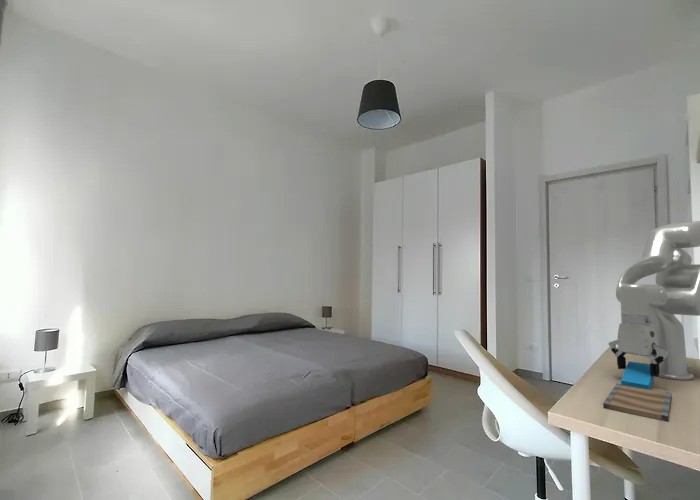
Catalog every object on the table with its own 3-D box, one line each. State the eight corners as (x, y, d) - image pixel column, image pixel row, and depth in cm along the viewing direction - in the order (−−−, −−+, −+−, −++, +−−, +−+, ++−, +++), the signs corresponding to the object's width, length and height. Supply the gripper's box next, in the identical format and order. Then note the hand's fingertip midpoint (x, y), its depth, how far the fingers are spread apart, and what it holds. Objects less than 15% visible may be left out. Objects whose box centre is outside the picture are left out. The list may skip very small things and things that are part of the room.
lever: (651, 406, 108) (658, 379, 120) (648, 385, 107) (655, 360, 119) (623, 400, 113) (632, 375, 125) (620, 380, 112) (630, 356, 124)
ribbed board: (616, 387, 111) (616, 383, 111) (671, 397, 102) (671, 392, 102) (603, 407, 94) (603, 402, 94) (668, 421, 85) (668, 416, 85)
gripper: (673, 323, 111) (676, 378, 109) (615, 318, 127) (617, 365, 125) (658, 323, 108) (661, 379, 106) (601, 318, 124) (603, 366, 122)
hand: (637, 372), depth 116 cm, fingers open, 9 cm apart
